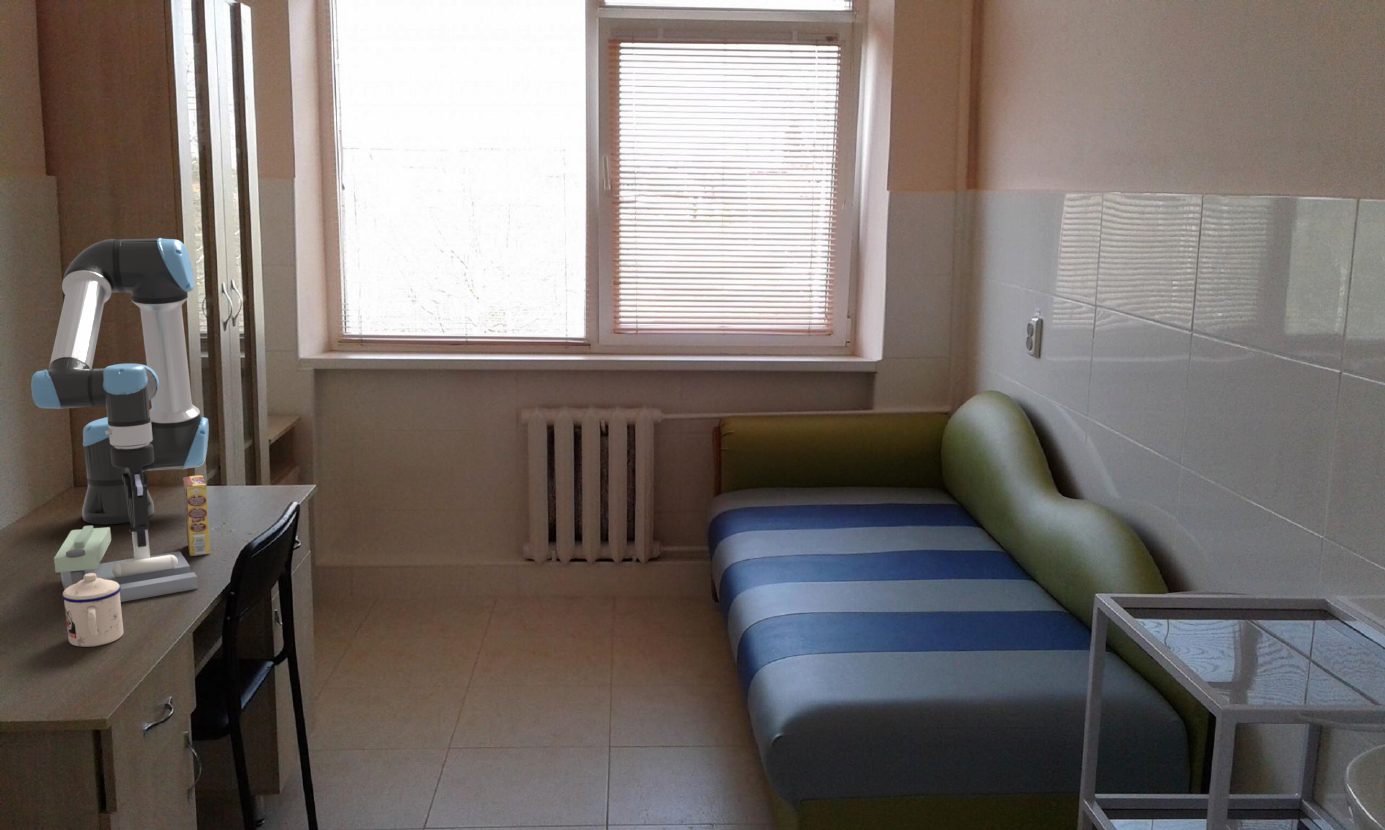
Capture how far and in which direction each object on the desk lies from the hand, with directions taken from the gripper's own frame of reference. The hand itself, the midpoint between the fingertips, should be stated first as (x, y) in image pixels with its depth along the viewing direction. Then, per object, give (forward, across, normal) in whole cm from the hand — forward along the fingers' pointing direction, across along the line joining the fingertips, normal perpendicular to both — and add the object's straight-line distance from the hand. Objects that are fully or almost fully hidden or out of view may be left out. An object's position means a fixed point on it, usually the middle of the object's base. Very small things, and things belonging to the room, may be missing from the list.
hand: (142, 560), depth 237 cm
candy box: (+4, -15, +13) cm, 20 cm away
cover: (-2, -2, -10) cm, 10 cm away
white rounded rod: (0, +3, 0) cm, 3 cm away
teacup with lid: (+5, +28, -12) cm, 31 cm away
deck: (+4, +1, -3) cm, 5 cm away
